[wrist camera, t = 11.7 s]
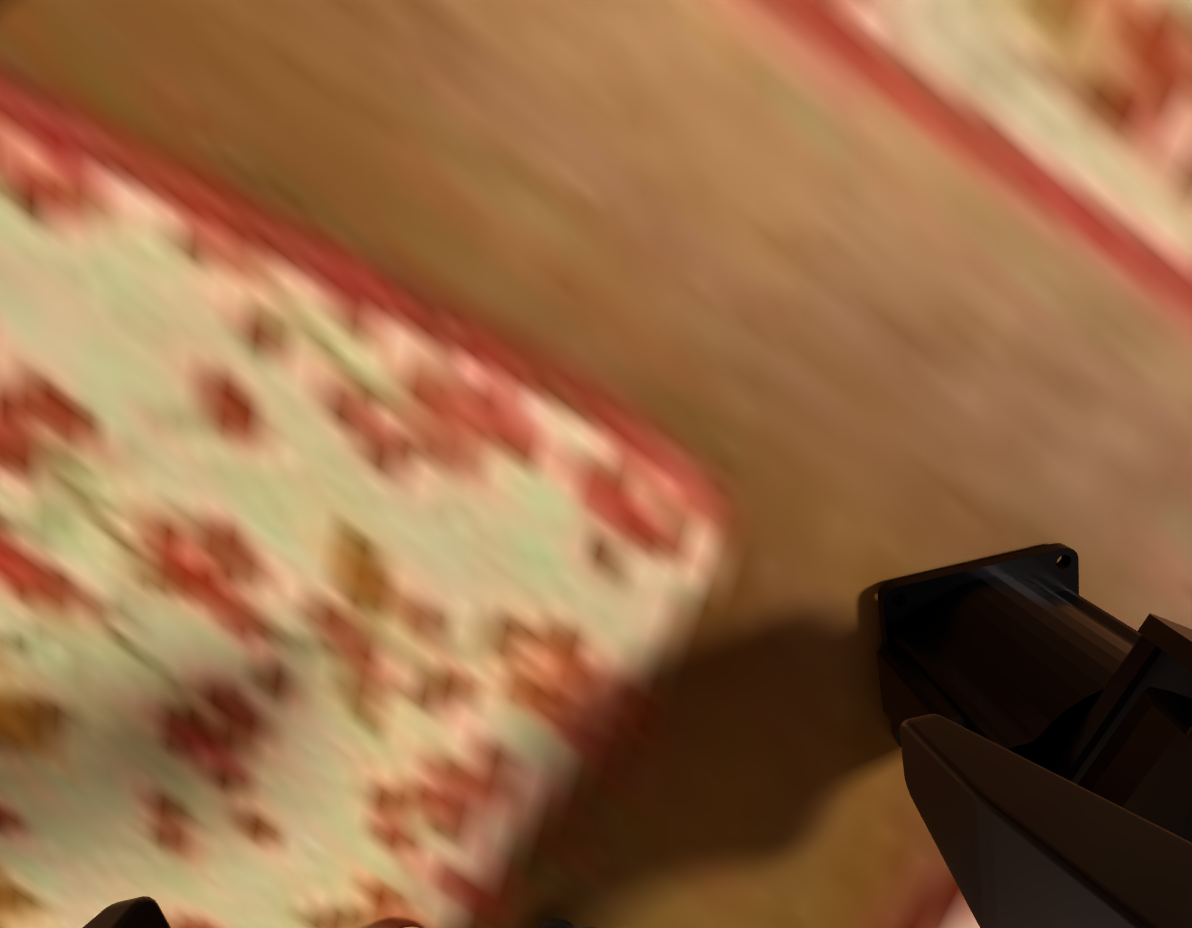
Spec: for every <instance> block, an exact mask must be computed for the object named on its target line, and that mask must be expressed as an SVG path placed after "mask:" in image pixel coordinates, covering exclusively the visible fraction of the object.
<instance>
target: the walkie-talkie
mask: <svg viewBox="0 0 1192 928" xmlns="http://www.w3.org/2000/svg"><path fill="white" fill-rule="evenodd" d="M539 928H593V927H579V926H573V925H572V924H571V923H570V922H568V921H565V920H561V919H554V918H553V919H550V920H548V921H546V922H544V923H543V924H541V925H540V927H539Z"/></svg>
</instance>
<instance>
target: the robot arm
mask: <svg viewBox="0 0 1192 928" xmlns="http://www.w3.org/2000/svg"><path fill="white" fill-rule="evenodd" d="M1060 556H1062V558H1061V560H1060V561H1059V562H1058V563H1056V561H1057V559H1058V558H1059V557H1060ZM897 593H900V596H899V597H898V599H897V600H895V601H891V598H892V597H893V596H894V595H895V594H897ZM878 606H879V615H880V625H881V634H882V643H883V644H882V645H880V647H879V649H878V652H877V658H878V667H879V677H880V686H881V695H882V704H883V711H884V713H885V714H886V715H887V717H888V718H889V719H890V721H891V728H892V735H893V737H894V739H895V740H896V742H897V743H898V744H899V746H901V747H902V757H903V767H904V776H905V781H906V785H907V788H908V790H909V793H910V795H911V797H912V799H913V801H914V803H915V805H916V807H917V809H918V811H919V813H920V815H921V817H922V819H923V820H924V822H925V824H926V826H927V828H928V830H929V832H930V834H931V836H932V838H933V839H934V841H935V843H936V845H937V847H938V849H939V851H940V853H941V855H942V857H943V858H944V860H945V862H946V864H947V866H948V868H949V870H950V872H951V874H952V876H953V877H954V879H955V881H956V883H957V885H958V887H959V889H960V891H961V893H962V895H963V896H964V898H965V900H966V902H967V904H968V906H969V908H970V910H971V912H972V913H973V915H974V917H975V919H976V921H977V923H978V924H979V926H980V928H1192V629H1189V628H1187V627H1184V626H1182V625H1179V624H1176V623H1174V622H1171V621H1169V620H1166V619H1164V618H1161V617H1159V616H1156V615H1154V614H1151V613H1150V614H1149V615H1148V617H1147V618H1146V620H1145V621H1144V623H1143V624H1142V625H1141V627H1140V628H1139V630H1138V631H1136V630H1134V629H1133V628H1131V627H1129V626H1128V625H1126V624H1125V623H1123V622H1121V621H1120V620H1118V619H1116V618H1115V617H1113V616H1112V615H1110V614H1108V613H1107V612H1105V611H1103V610H1102V609H1100V608H1099V607H1097V606H1095V605H1094V604H1092V603H1090V602H1089V601H1087V600H1086V599H1084V598H1082V597H1081V596H1079V574H1078V555H1077V553H1076V552H1075V551H1074V550H1073V549H1071V548H1069V547H1067V546H1065V545H1063V544H1061V543H1055V544H1050V545H1046V546H1041V547H1037V548H1033V549H1028V550H1024V551H1020V552H1015V553H1011V554H1007V555H1002V556H998V557H994V558H989V559H985V560H981V561H976V562H972V563H968V564H963V565H959V566H955V567H950V568H946V569H942V570H937V571H933V572H929V573H924V574H920V575H916V576H911V577H907V578H903V579H898V580H894V581H890V582H888V583H886V584H884V585H883V586H882V587H881V588H880V590H879V592H878ZM83 928H171V927H170V925H169V923H168V922H167V920H166V918H165V916H164V914H163V913H162V911H161V909H160V907H159V905H158V904H157V902H156V901H155V900H154V899H152V898H150V897H145V896H143V897H138V898H134V899H130V900H125V901H121V902H117V903H115V904H112V905H110V906H108V907H107V908H106V909H104V910H103V911H102V912H101V913H99V914H98V915H97V916H96V917H95V918H93V919H92V920H91V921H90V922H89V923H88V924H86V925H85V926H84V927H83Z"/></svg>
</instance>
